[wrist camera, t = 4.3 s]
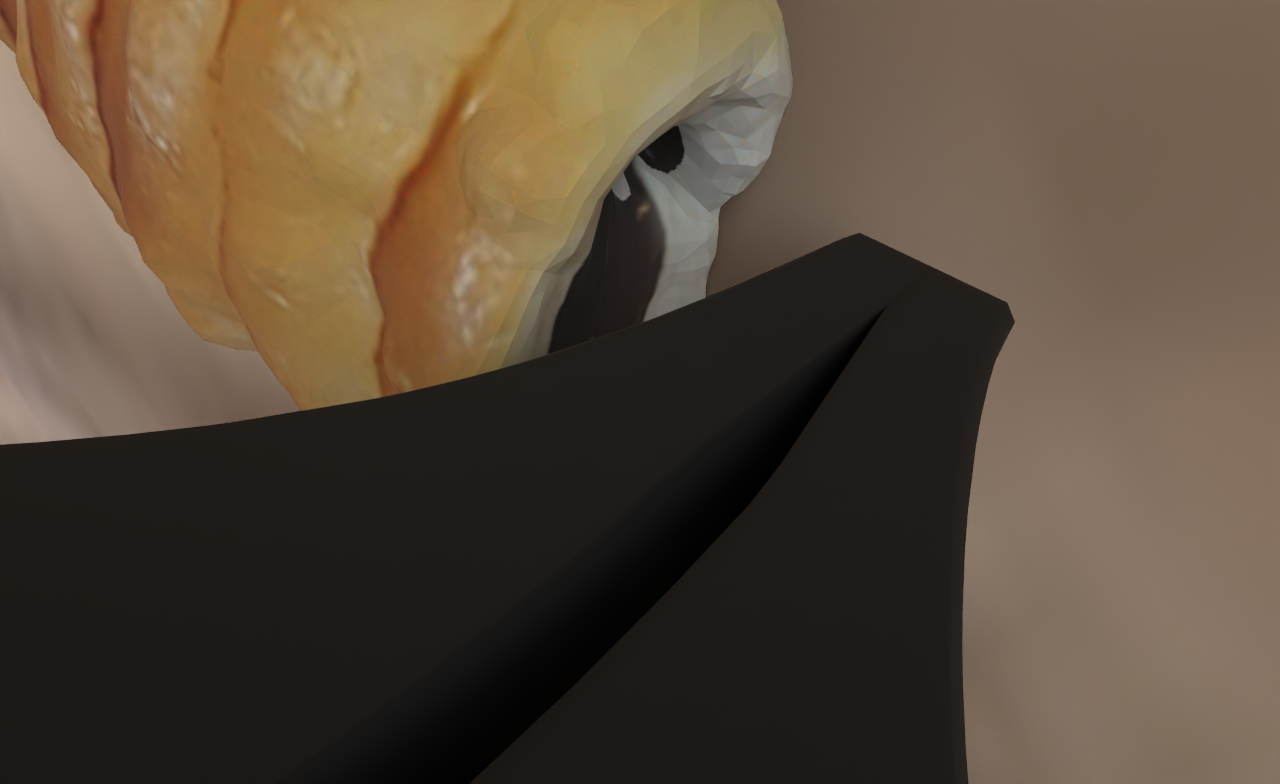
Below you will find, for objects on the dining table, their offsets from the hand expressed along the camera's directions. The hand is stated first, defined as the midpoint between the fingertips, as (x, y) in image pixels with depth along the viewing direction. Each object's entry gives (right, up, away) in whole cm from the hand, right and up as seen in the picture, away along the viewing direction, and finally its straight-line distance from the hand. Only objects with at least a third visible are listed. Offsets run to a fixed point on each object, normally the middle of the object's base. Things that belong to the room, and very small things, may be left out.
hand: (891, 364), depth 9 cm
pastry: (-4, +4, +3) cm, 6 cm away
